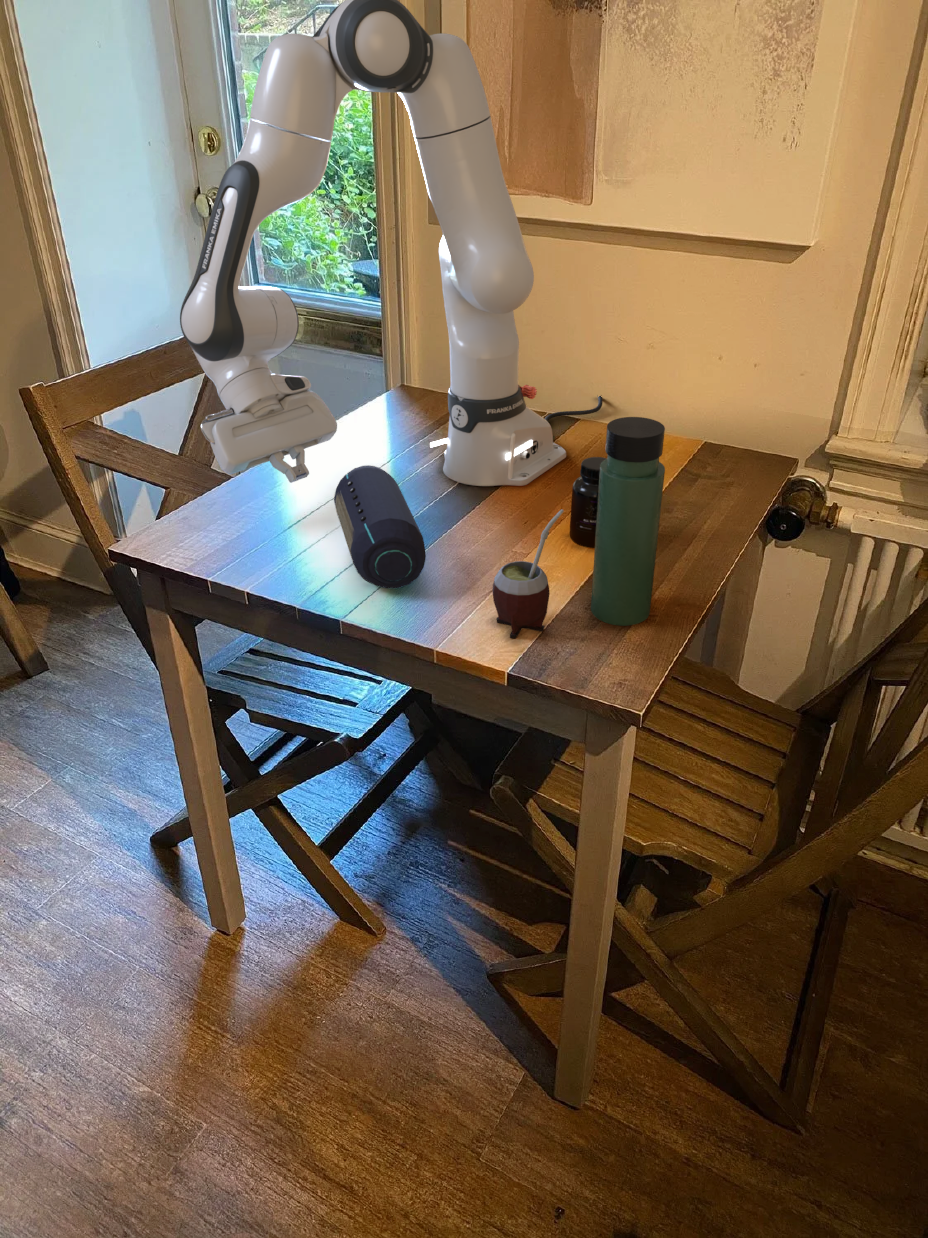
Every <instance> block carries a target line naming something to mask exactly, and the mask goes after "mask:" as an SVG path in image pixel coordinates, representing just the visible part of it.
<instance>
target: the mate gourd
mask: <svg viewBox="0 0 928 1238" xmlns="http://www.w3.org/2000/svg"><path fill="white" fill-rule="evenodd" d="M564 512H565V510H564V509H563V508H562V509H560V510H559V511H558V512H556V514H555V515H554V516H553V517H552V519H550V521H549V522H548V523H547V524H546V526H545V528H544V529H543V530H542V532H541V534H540V540H539V544H538V547H537V551H536V552H535V556H534V560H533V562H532V561H525V560H519V561H517V560H516V561H512V562H508V563H506V564H505V565H502V567H500V568H499V570H498V572H496V574H495V576H494V578H493V579H494V580H493V583H492V588H491V589H492V590H491V591H492V600H493V603H494V607H495V610H496V613H497V617H496V619H495V620H496V624H501V625H505V626H510V627H511V632H510V633H509V638H510V639H513V640H515V639H517V638H518V637H519V634H520V633H521V631H522V630H523V629H526V630H531V631H536V632H544V630H545V624H544V621H545V618H546V616H547V613H548V607H549V601H550V600H549V599H550V586H549V580H548V575H547V574H546V573H545V571H544V570H543V569H542V568H541V567H540V566H539V561H540V558H541V555H542V552H543V549H544V546H545V543H546V540H547V539H548V537H549V535H550V530H551V529H552V527H553V526H554V524H555V523H556V522H557V520H558V519H559V518H560V517H561V516H562V514H563V513H564Z"/></svg>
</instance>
